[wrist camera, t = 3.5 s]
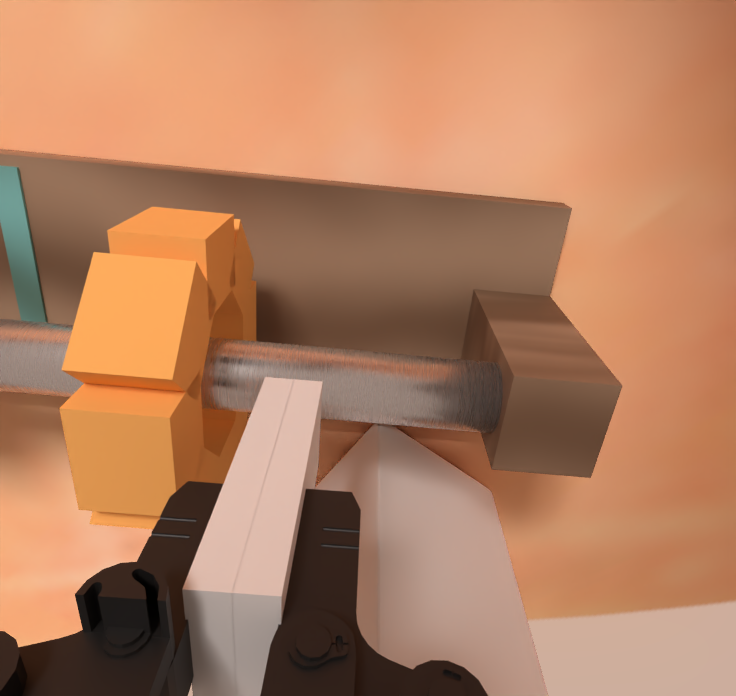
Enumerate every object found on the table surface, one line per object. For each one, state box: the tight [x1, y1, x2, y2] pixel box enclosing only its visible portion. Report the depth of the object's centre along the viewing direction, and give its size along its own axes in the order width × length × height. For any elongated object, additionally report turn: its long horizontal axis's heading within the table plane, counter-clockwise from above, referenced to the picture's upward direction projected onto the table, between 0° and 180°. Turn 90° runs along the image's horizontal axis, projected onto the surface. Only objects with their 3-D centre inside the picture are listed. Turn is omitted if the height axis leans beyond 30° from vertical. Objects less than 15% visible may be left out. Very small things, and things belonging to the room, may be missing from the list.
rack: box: [0, 149, 622, 478], centre depth 19 cm, size 10×27×8 cm, turn 85°
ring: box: [59, 207, 256, 529], centre depth 17 cm, size 9×2×9 cm, turn 175°
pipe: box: [0, 318, 503, 433], centre depth 16 cm, size 3×24×3 cm, turn 85°
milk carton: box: [315, 423, 548, 696], centre depth 18 cm, size 7×7×19 cm
